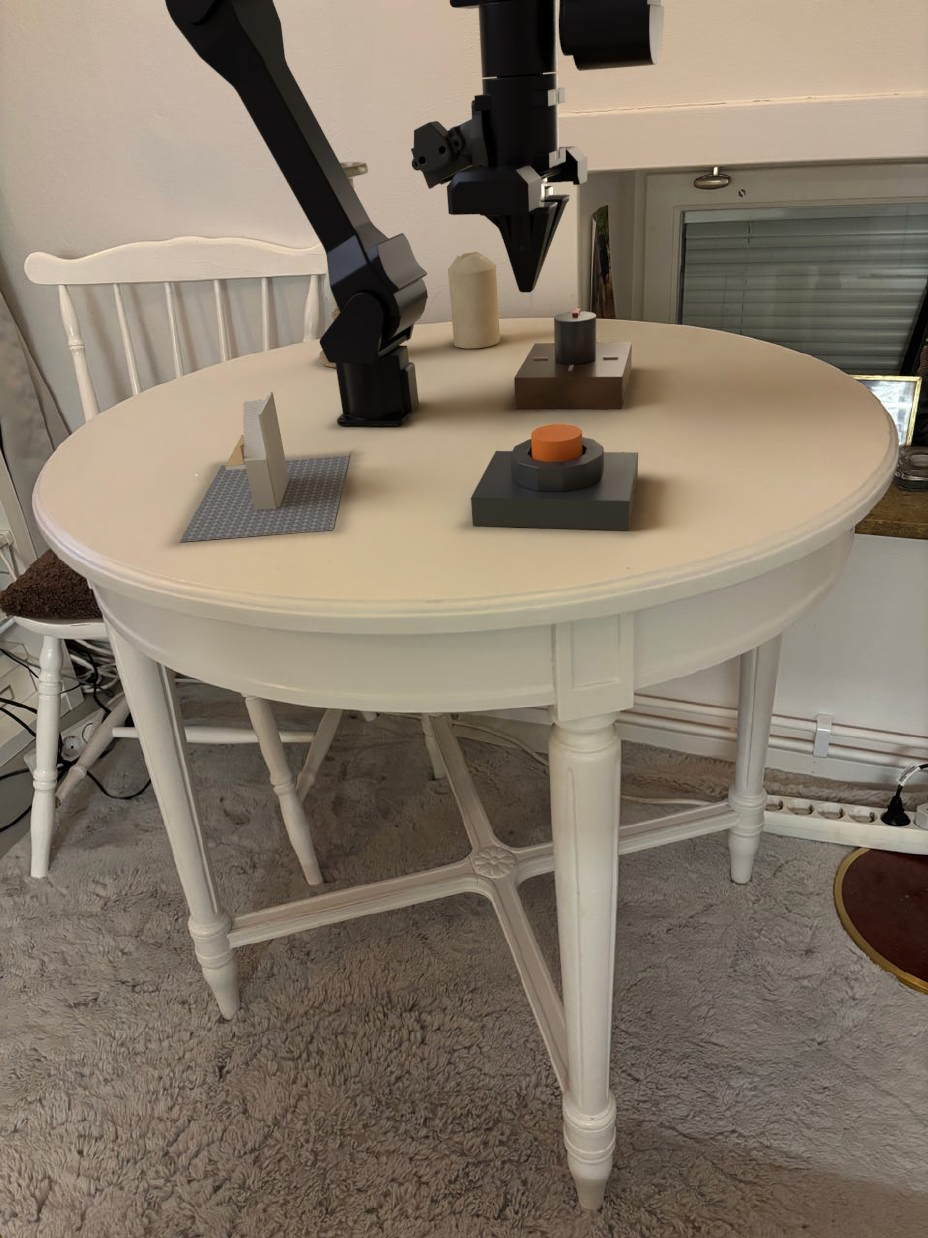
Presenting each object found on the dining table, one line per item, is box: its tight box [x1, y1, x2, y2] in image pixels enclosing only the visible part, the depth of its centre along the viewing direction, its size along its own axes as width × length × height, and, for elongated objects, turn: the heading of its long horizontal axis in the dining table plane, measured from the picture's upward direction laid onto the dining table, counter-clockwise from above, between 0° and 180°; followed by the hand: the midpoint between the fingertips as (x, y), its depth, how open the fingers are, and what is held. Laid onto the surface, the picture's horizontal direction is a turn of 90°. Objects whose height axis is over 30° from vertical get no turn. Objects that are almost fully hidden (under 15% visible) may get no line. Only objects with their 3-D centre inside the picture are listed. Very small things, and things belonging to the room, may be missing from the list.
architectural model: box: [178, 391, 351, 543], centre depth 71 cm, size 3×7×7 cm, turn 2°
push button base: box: [470, 436, 639, 531], centre depth 66 cm, size 11×9×4 cm
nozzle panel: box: [513, 341, 633, 410], centre depth 89 cm, size 10×12×3 cm
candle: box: [447, 251, 501, 349], centre depth 105 cm, size 6×6×10 cm
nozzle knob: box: [553, 307, 597, 364], centre depth 87 cm, size 4×4×4 cm
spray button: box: [530, 423, 583, 462], centre depth 65 cm, size 4×4×2 cm
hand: (526, 291), depth 76 cm, fingers closed
